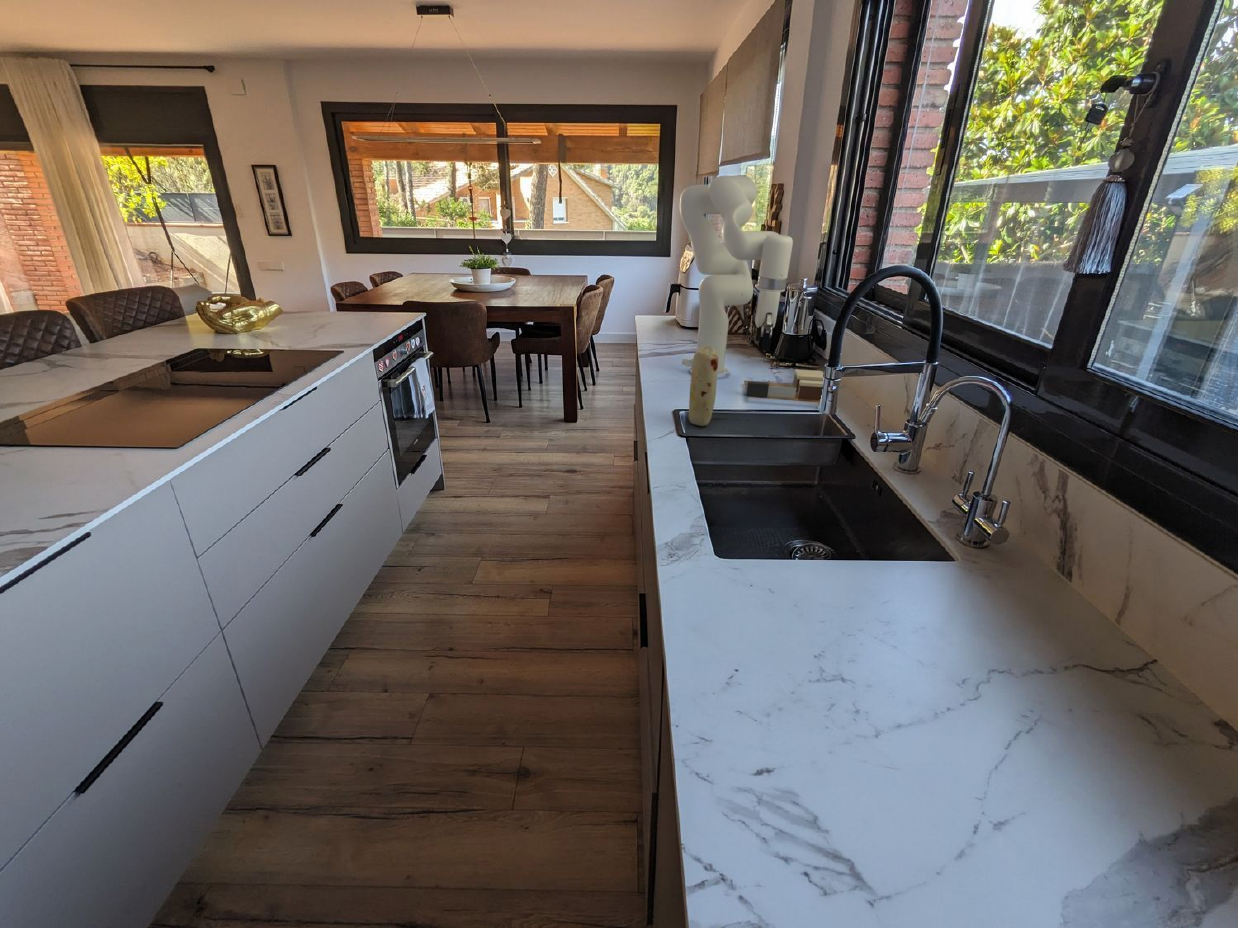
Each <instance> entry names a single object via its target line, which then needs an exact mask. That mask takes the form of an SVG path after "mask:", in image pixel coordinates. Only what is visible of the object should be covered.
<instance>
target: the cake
mask: <svg viewBox="0 0 1238 928" xmlns="http://www.w3.org/2000/svg"><path fill="white" fill-rule="evenodd" d="M823 374H824V372H823V370H811V369H799V368H798V369H797V368H796V369H795V370H794V376H793V382H792V384H793V386H794V388H797V389H796V392H798V387H799V381H800V380H811V381H823Z"/></svg>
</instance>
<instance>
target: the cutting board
mask: <svg viewBox="0 0 1238 928" xmlns="http://www.w3.org/2000/svg"><path fill="white" fill-rule="evenodd" d="M748 381H749V380H743V385H744V389H745V392H746V391H747V383H748ZM754 381H755V382H761V380H760V381H759V380H754ZM767 382H768V383H769V386H776V387H790V388H794V386H793V383H789V382H788V383H787V382H772V381H767ZM797 393H798V392H796V395H795V399H793V398H780V397H753V396H746V398H753V399H754V398H755V399H764V400H765V399H766V400H781V401H795V402H807V403H820V400H810V399H798V397H797Z"/></svg>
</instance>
